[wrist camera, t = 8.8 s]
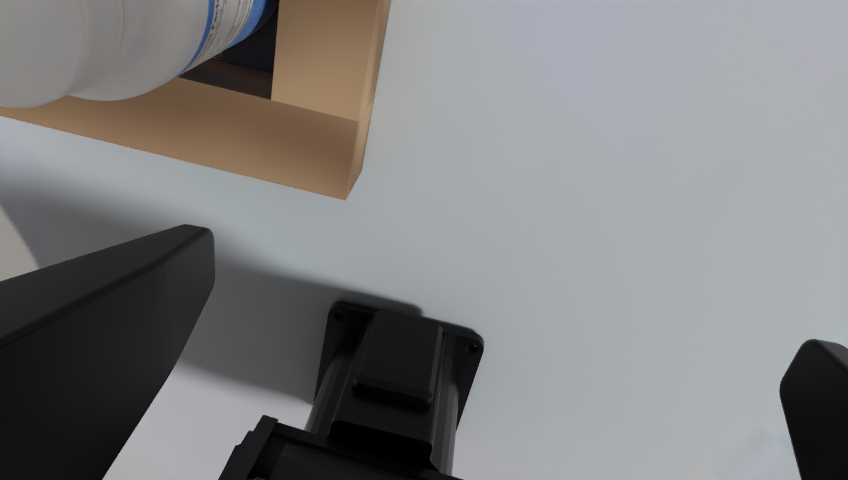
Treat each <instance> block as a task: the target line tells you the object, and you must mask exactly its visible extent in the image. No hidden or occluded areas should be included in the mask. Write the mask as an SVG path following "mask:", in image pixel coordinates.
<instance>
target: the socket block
mask: <svg viewBox="0 0 848 480" xmlns="http://www.w3.org/2000/svg"><path fill="white" fill-rule="evenodd" d="M390 3H391V0H280V1H279V13H278V24H277V36H276V48H275V60H274V72H273V74H271V73H266V72H262V71H258V70H254V69H250V68H246V67H242V66H238V65H234V64H230V63H226V62H222V61H218V60H213V59H208V60H206V61H204V62H203V63H201V64H199V65H197V66H195V67H194V68H192V69H190V70H188V71H186V72H185V73H183V74H181V75H179V76H178V77H176V78H174V79H172V80H170V81H169V82H167V83H165V84H163V85H161V86H159V87H157V88H155V89H153V90H151V91H149V92H147V93H144V94H141V95H139V96H136V97H132V98H128V99H123V100H114V101H98V100H89V99H82V98H78V97H74V96H70V95H67V96H65V97H62V98H60V99H58V100H55V101H53V102H50V103H47V104H44V105H41V106H37V107H29V108H9V107H2V106H0V116H3V117H8V118H12V119H16V120H20V121H24V122H28V123H32V124H36V125H40V126H44V127H48V128H52V129H56V130H61V131H65V132H69V133H73V134H77V135H81V136H85V137H89V138H93V139H97V140H101V141H105V142H110V143H114V144H118V145H122V146H126V147H130V148H134V149H138V150H142V151H146V152H150V153H154V154H159V155H163V156H167V157H171V158H175V159H179V160H183V161H187V162H191V163H195V164H199V165H203V166H208V167H212V168H216V169H220V170H224V171H228V172H232V173H236V174H240V175H244V176H248V177H252V178H257V179H261V180H265V181H269V182H273V183H277V184H281V185H285V186H289V187H293V188H297V189H301V190H306V191H310V192H314V193H318V194H322V195H326V196H330V197H334V198H338V199H342V200H346V199H347V197H348V195H349V193H350V191H351V189H352V188H353V186H354V184H355V182H356V180H357V178H358V177H359V175H360V173H361V171H362V165H363V159H364V153H365V147H366V142H367V136H368V130H369V124H370V119H371V113H372V107H373V101H374V95H375V90H376V84H377V78H378V72H379V67H380V61H381V55H382V49H383V43H384V38H385V32H386V26H387V20H388V15H389V9H390Z"/></svg>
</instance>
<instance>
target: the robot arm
mask: <svg viewBox="0 0 848 480" xmlns="http://www.w3.org/2000/svg"><path fill="white" fill-rule="evenodd" d="M214 281H215V253H214V236H213V233H212V231H211V230H210V229H208V228H205V227H199V226H194V225H188V224H183V225H180V226H177V227H173V228H170V229H167V230H164V231H161V232H157V233H154V234H151V235H148V236H145V237H141V238H138V239H135V240H132V241H129V242H125V243H122V244H119V245H116V246H113V247H109V248H106V249H103V250H100V251H97V252H93V253H90V254H87V255H84V256H81V257H77V258H74V259H71V260H68V261H64V262H61V263H58V264H55V265H52V266H48V267H45V268H42V269H39V270H36V271H33V272H29V273H26V274H23V275H20V276H17V277H13V278H10V279H7V280H4V281H0V480H102V479H103V477H104V476H105V474H106V473H107V471H108V470H109V468H110V467H111V465H112V463H113V462H114V460H115V459H116V457H117V456H118V454H119V453H120V451H121V449H122V448H123V446H124V445H125V443H126V442H127V440H128V439H129V437H130V436H131V434H132V432H133V431H134V429H135V428H136V426H137V425H138V423H139V422H140V420H141V418H142V417H143V415H144V414H145V412H146V411H147V409H148V408H149V406H150V405H151V403H152V401H153V400H154V398H155V397H156V395H157V394H158V392H159V391H160V389H161V387H162V386H163V384H164V383H165V381H166V380H167V378H168V376H169V375H170V373H171V371H172V370H173V368H174V366H175V364H176V362H177V360H178V358H179V357H180V355H181V353H182V350H183V348H184V346H185V344H186V342H187V340H188V338H189V336H190V334H191V332H192V330H193V328H194V326H195V324H196V322H197V320H198V318H199V315H200V313H201V311H202V309H203V307H204V305H205V303H206V301H207V299H208V297H209V295H210V293H211V291H212V288H213V285H214ZM338 311H341V312H343V313H345V314H346V315H345V316H341V315H339V314H338V313H337V312H338ZM468 344H475V345H476V346H475V347H469V346H467V345H468ZM483 350H484V340H483V338H482V337H481V336H480V335H478V334H476V333H473V332H468V331H464V330H460V329H456V328H452V327H448V326H444V325H440V324H437V323H433V322H429V321H425V320H421V319H417V318H413V317H409V316H405V315H401V314H396V313H392V312H388V311H384V310H379V309H374V308H370V307H366V306H362V305H358V304H354V303H350V302H346V301H337V302H335V303H334V304H332V307H331V309H330V311H329V313H328V319H327V325H326V332H325V338H324V344H323V350H322V356H321V362H320V368H319V374H318V380H317V386H316V392H315V398H314V405H313V408H312V410H311V413H310V416H309V418H308V421H307V423H306V426H305V429H304V430H301V429H298V428H295V427H292V426H288V425H285V424H282V423H279V422H278V419H276V418H273V417H269V416H266V415H263V416H262V417H261V419H260V421H259V422H258V424H257V426H256V427H255V429H254V431H250V430H249V431H248V433H247V434H246V436H245V438H244V439H243V441H242V443H241V444H239V445H236V446H235V448H234V450H233V452H232V454H231V456H230V458H229V460H228V462H227V464H226V466H225V468H224V470H223V472H222V473H221V475H220V477H219V479H218V480H463V479H460V478H457V477H453V476H452V467H453V456H454V445H455V434H456V430H457V427H458V424H459V421H460V419H461V416H462V413H463V410H464V407H465V404H466V401H467V398H468V395H469V392H470V389H471V386H472V383H473V380H474V377H475V375H476V372H477V369H478V366H479V363H480V360H481V357H482V354H483ZM780 399H781V403H782V407H783V411H784V415H785V419H786V422H787V426H788V430H789V434H790V438H791V442H792V446H793V450H794V454H795V458H796V462H797V466H798V469H799V473H800V477H801V480H848V349H847V348H846V347H844V346H842V345H840V344H838V343H834V342H828V341H823V340H817V339H810V340H807V341H806V342H804V343H803V344H802V346H801V347H800V349H799V350H798V352H797V354H796V355H795V357H794V359H793V361H792V362H791V364H790V366H789V368H788V369H787V371H786V373H785V375H784V376H783V378H782V380H781V384H780Z"/></svg>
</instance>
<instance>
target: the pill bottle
mask: <svg viewBox="0 0 848 480" xmlns="http://www.w3.org/2000/svg"><path fill="white" fill-rule="evenodd" d="M279 1H280V0H0V106H2V107H9V108H29V107H37V106H41V105H44V104H47V103H50V102H53V101H55V100H58V99H60V98H62V97H65V96H67V95H70V96H74V97H78V98H82V99H89V100H98V101H114V100H123V99H128V98H132V97H136V96H139V95H141V94H144V93H147V92H149V91H151V90H153V89H155V88H157V87H159V86H161V85H163V84H165V83H167V82H169V81H170V80H172V79H174V78H176V77H178V76H179V75H181V74H183V73H185V72H186V71H188V70H190V69H192V68H194V67H195V66H197V65H199V64H201V63H203V62H204V61H206V60H208V59H210V58H212V57H213V56H215V55H217V54H219V53H220V52H222V51H224V50H226V49H227V48H229V47H231V46H233V45H235V44H237V43H238V42H240V41H242V40H244V39H246V38H248V37H249V36H251V35H252V34H254V33H255V32H256V31H257V30H259V29H260V28H261V27H262V26H263V25H264V24H265V23H266V22H267V21H268V19H269V18H270V17H271V16H272V14H273V13H274V11H275V10H276V8H277V6H278V4H279Z"/></svg>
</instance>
